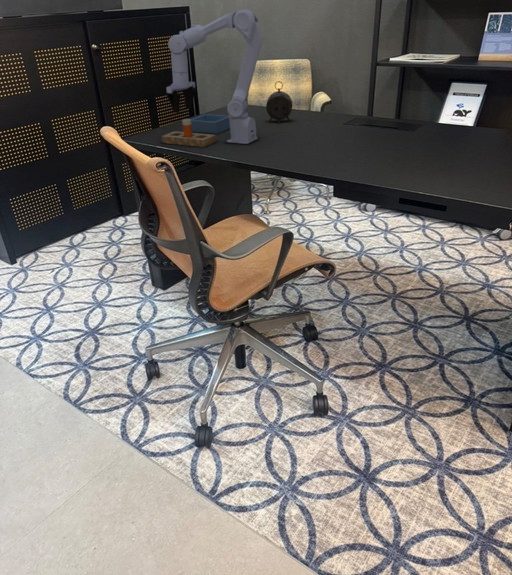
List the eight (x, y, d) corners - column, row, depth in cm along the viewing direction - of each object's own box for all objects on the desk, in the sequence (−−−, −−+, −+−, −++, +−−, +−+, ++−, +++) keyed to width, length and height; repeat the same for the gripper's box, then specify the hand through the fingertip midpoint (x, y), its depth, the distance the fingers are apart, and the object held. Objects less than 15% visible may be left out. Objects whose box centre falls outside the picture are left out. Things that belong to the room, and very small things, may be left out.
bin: (232, 127, 212) (231, 115, 209) (216, 133, 203) (215, 122, 201) (205, 125, 218) (204, 114, 216) (189, 131, 209) (188, 120, 207)
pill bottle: (195, 141, 195) (192, 119, 191) (190, 143, 192) (187, 121, 188) (188, 140, 196) (185, 118, 192) (183, 143, 194) (180, 120, 190)
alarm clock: (292, 119, 217) (291, 79, 208) (292, 122, 212) (291, 81, 204) (267, 120, 218) (265, 80, 210) (266, 123, 213) (264, 83, 205)
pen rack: (216, 141, 193) (215, 134, 191) (204, 147, 187) (203, 140, 186) (175, 137, 202) (174, 131, 201) (162, 142, 196) (161, 136, 195)
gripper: (183, 68, 189) (185, 105, 196) (158, 73, 179) (161, 112, 186) (198, 69, 186) (200, 108, 193) (174, 75, 175) (177, 115, 183)
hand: (182, 110), depth 189 cm, fingers open, 7 cm apart
